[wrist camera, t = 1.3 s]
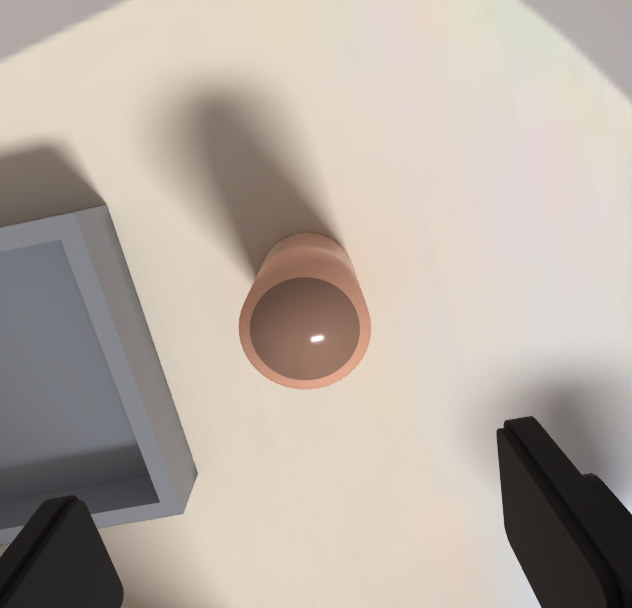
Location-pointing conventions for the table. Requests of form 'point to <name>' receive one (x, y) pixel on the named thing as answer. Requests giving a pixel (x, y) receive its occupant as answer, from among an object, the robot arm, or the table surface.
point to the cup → (305, 314)
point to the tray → (82, 380)
